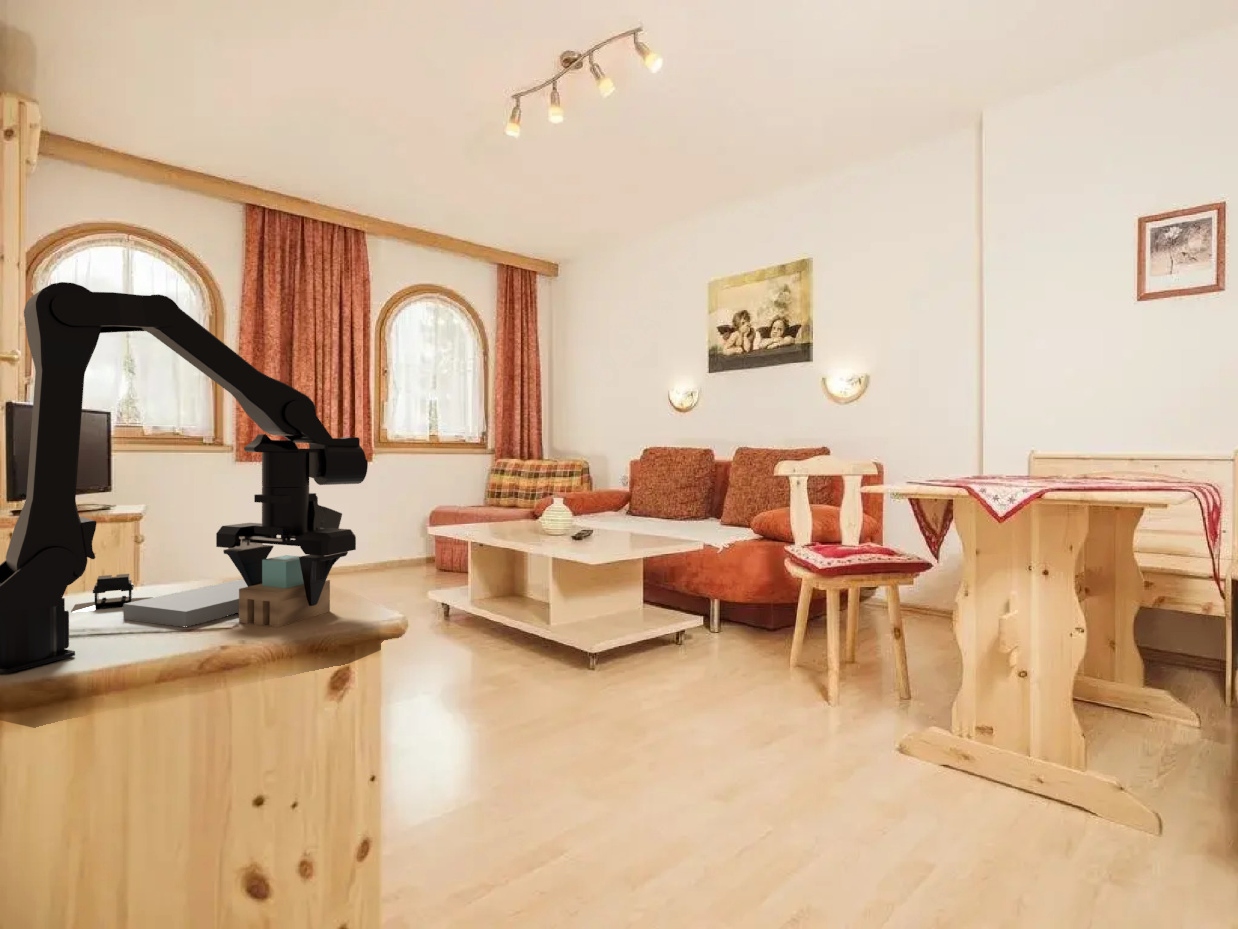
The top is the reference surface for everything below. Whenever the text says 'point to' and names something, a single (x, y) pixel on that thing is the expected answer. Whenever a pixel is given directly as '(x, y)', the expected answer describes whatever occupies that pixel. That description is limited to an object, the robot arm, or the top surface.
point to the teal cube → (282, 572)
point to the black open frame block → (109, 584)
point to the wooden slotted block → (279, 604)
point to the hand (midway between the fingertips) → (285, 602)
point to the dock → (188, 605)
